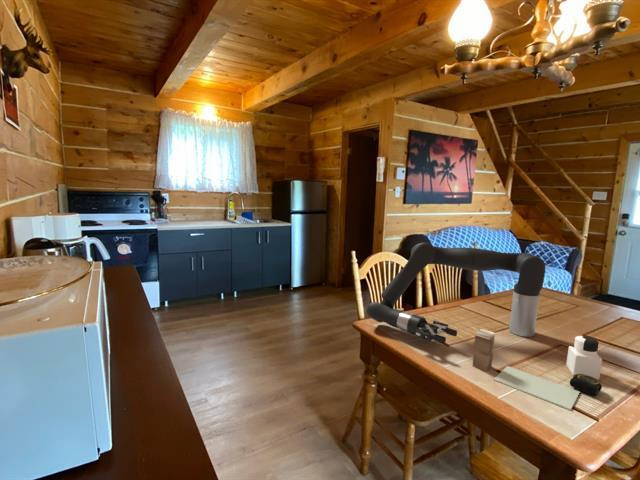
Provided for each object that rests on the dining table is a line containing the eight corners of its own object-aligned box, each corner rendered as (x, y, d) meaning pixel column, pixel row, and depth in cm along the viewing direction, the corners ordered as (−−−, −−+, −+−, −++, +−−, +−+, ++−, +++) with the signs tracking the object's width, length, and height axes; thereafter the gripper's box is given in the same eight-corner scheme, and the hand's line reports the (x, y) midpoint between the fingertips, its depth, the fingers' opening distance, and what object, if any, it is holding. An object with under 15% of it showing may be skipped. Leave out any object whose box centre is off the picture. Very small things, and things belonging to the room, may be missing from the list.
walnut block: (477, 361, 120) (481, 328, 119) (491, 366, 117) (494, 332, 115) (472, 366, 117) (475, 332, 115) (486, 371, 114) (489, 336, 112)
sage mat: (507, 366, 117) (507, 365, 117) (579, 393, 103) (580, 391, 103) (493, 380, 109) (493, 378, 109) (570, 410, 95) (570, 409, 95)
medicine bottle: (590, 369, 117) (595, 335, 115) (599, 380, 110) (605, 344, 108) (565, 365, 119) (570, 332, 117) (573, 375, 112) (578, 341, 110)
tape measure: (567, 388, 105) (569, 377, 105) (577, 381, 109) (578, 370, 109) (594, 400, 100) (596, 388, 99) (603, 392, 104) (605, 380, 103)
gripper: (401, 319, 131) (442, 332, 119) (421, 310, 140) (460, 322, 129) (400, 337, 132) (440, 353, 120) (420, 327, 141) (459, 341, 130)
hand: (451, 337), depth 124 cm, fingers open, 8 cm apart
